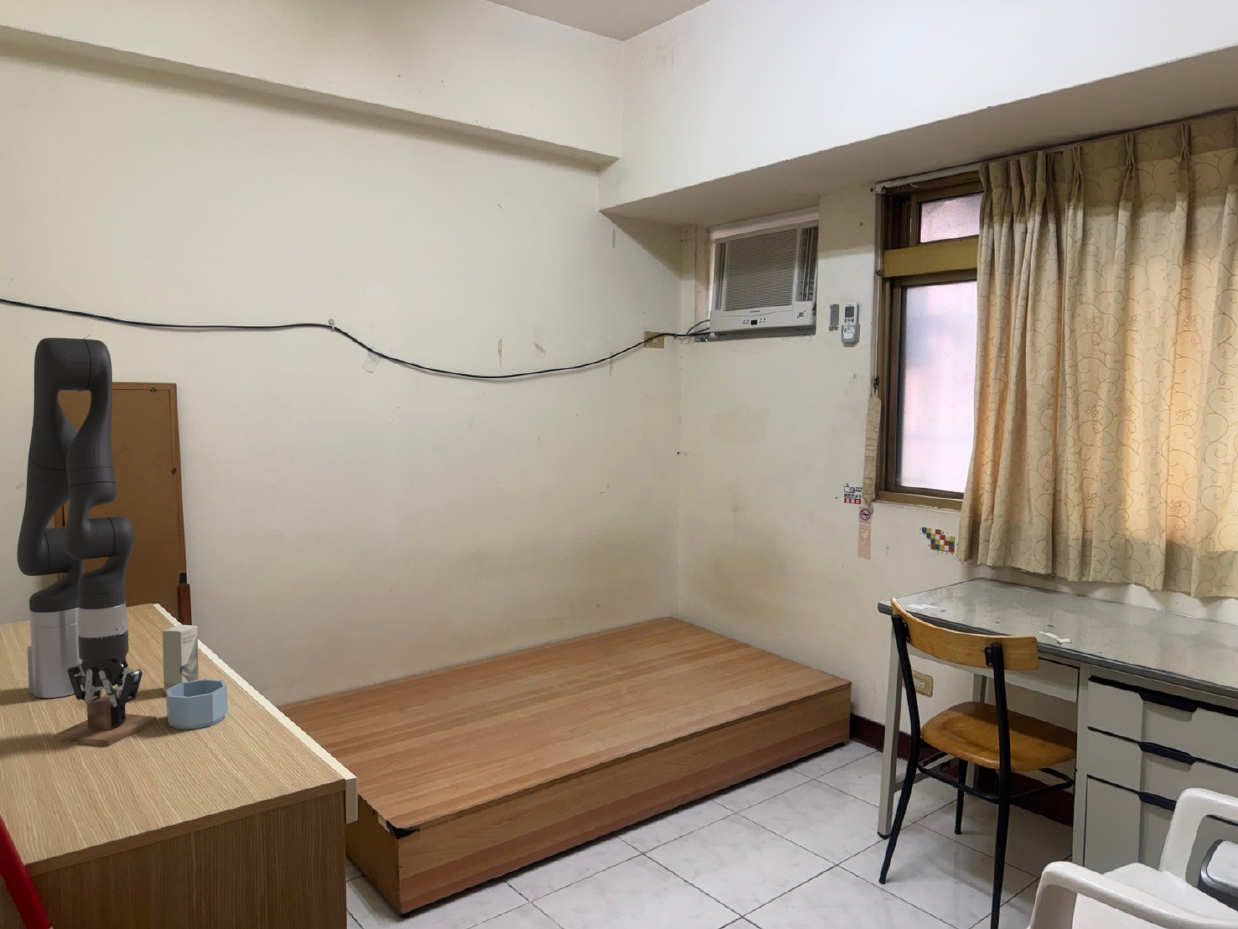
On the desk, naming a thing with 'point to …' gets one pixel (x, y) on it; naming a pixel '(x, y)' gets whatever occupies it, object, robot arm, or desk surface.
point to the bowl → (196, 704)
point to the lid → (103, 726)
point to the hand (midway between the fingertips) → (106, 723)
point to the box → (180, 655)
